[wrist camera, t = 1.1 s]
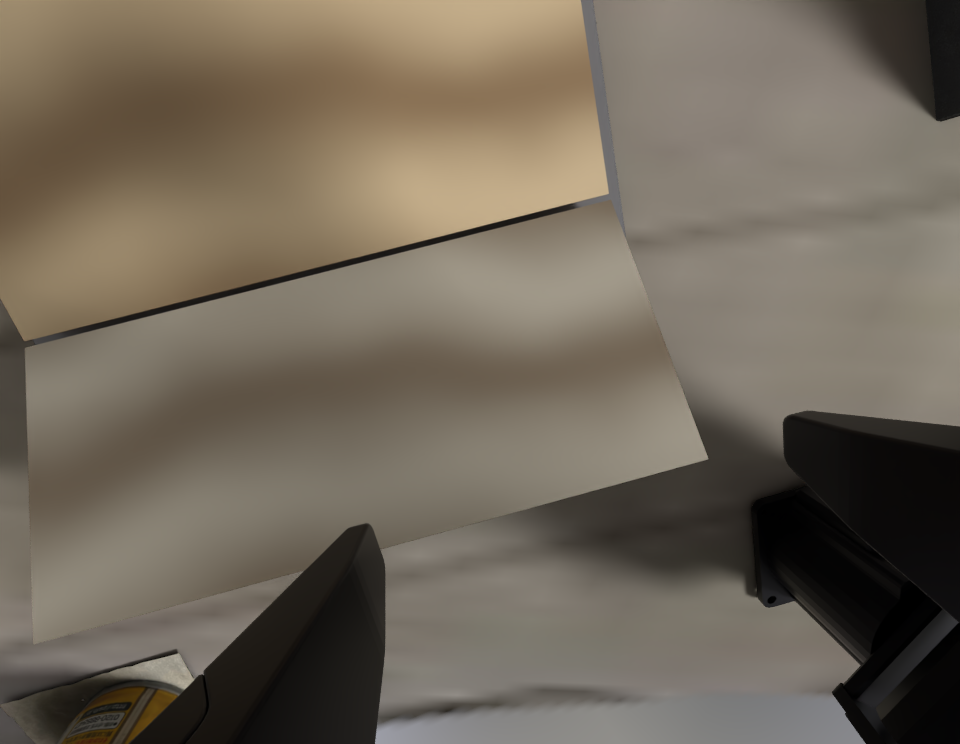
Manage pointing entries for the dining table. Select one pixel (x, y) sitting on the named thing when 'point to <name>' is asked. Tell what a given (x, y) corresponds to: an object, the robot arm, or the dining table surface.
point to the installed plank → (271, 139)
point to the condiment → (102, 704)
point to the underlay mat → (613, 196)
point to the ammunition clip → (945, 55)
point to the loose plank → (342, 415)
